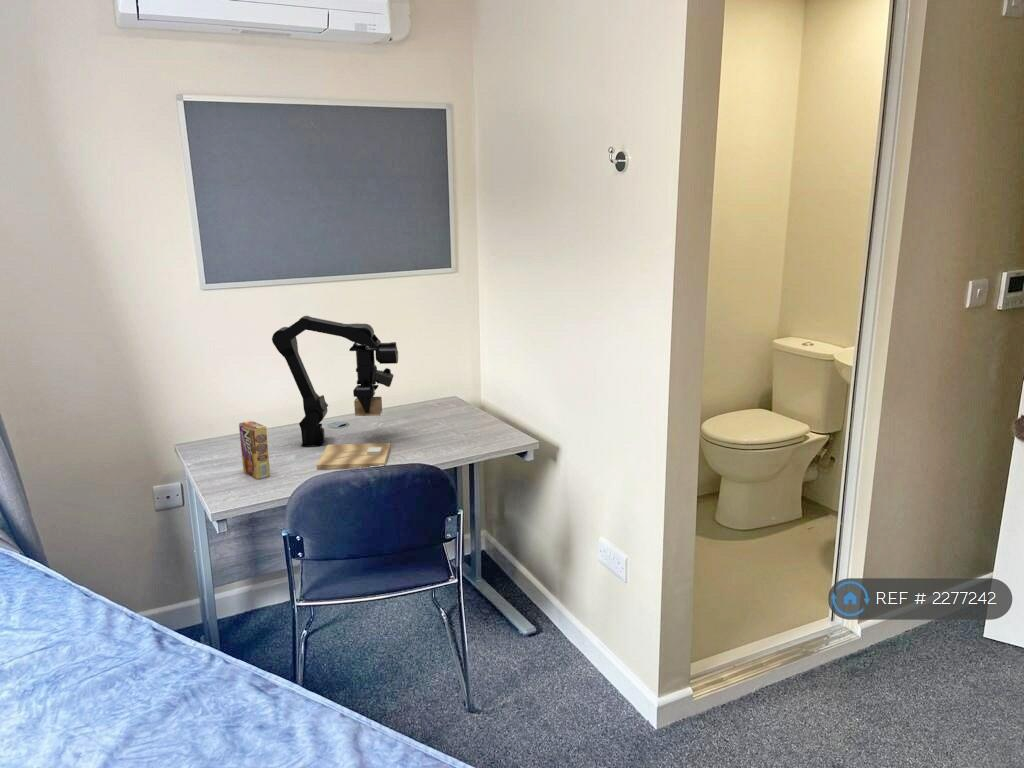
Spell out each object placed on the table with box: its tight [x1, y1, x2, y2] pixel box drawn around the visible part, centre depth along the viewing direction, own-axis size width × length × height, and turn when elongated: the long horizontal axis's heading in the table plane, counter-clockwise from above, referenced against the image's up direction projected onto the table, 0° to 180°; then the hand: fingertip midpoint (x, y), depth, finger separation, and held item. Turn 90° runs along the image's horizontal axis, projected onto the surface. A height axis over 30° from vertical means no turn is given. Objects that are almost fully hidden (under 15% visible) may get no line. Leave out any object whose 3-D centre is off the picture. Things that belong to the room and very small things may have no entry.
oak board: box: [316, 442, 391, 471], centre depth 232 cm, size 20×18×2 cm
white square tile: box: [367, 447, 382, 455], centre depth 232 cm, size 4×4×1 cm
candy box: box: [238, 420, 271, 480], centre depth 218 cm, size 9×4×15 cm, turn 47°
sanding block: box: [353, 396, 383, 417], centre depth 243 cm, size 8×5×5 cm, turn 91°
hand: (368, 410), depth 244 cm, fingers closed on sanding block, 5 cm apart
